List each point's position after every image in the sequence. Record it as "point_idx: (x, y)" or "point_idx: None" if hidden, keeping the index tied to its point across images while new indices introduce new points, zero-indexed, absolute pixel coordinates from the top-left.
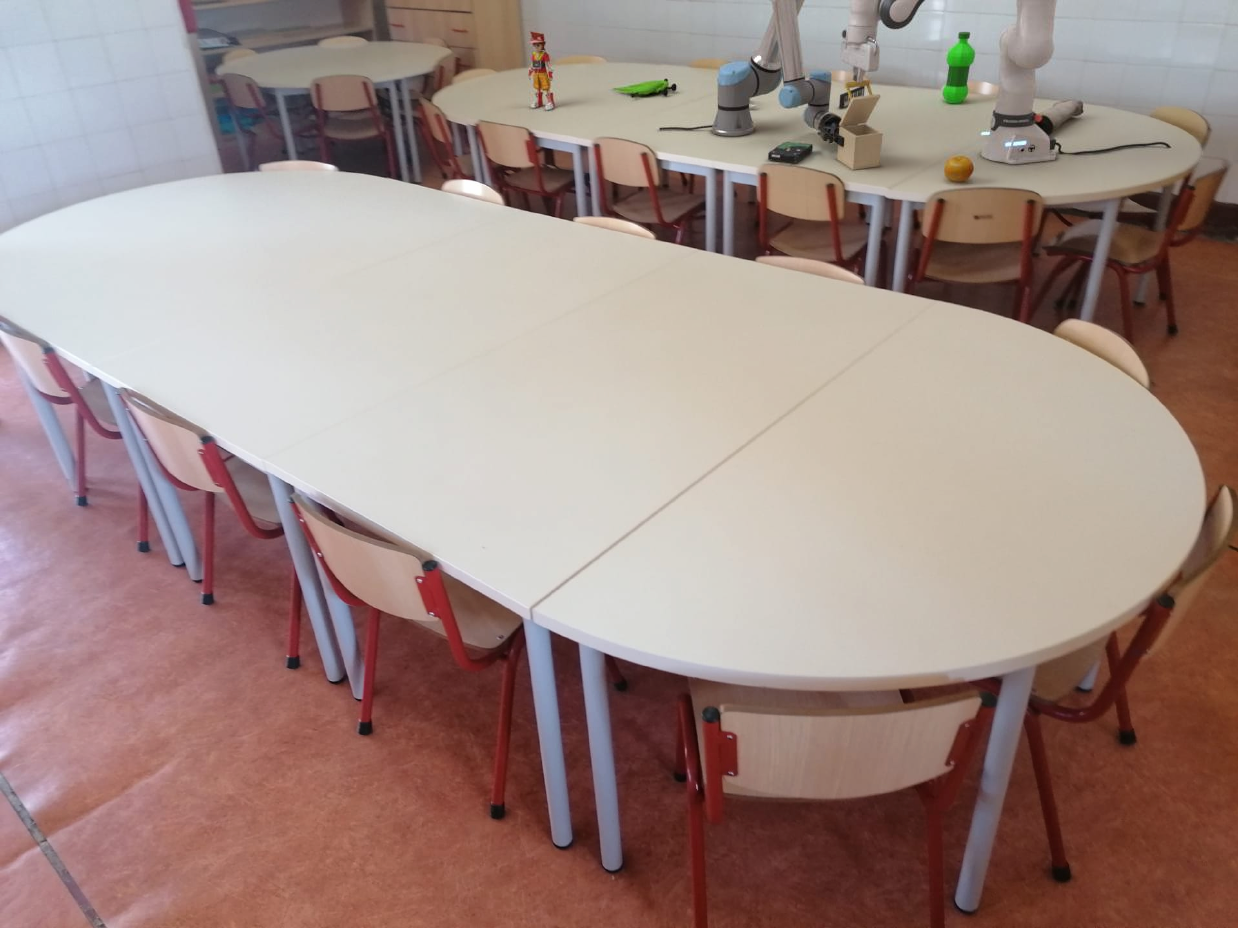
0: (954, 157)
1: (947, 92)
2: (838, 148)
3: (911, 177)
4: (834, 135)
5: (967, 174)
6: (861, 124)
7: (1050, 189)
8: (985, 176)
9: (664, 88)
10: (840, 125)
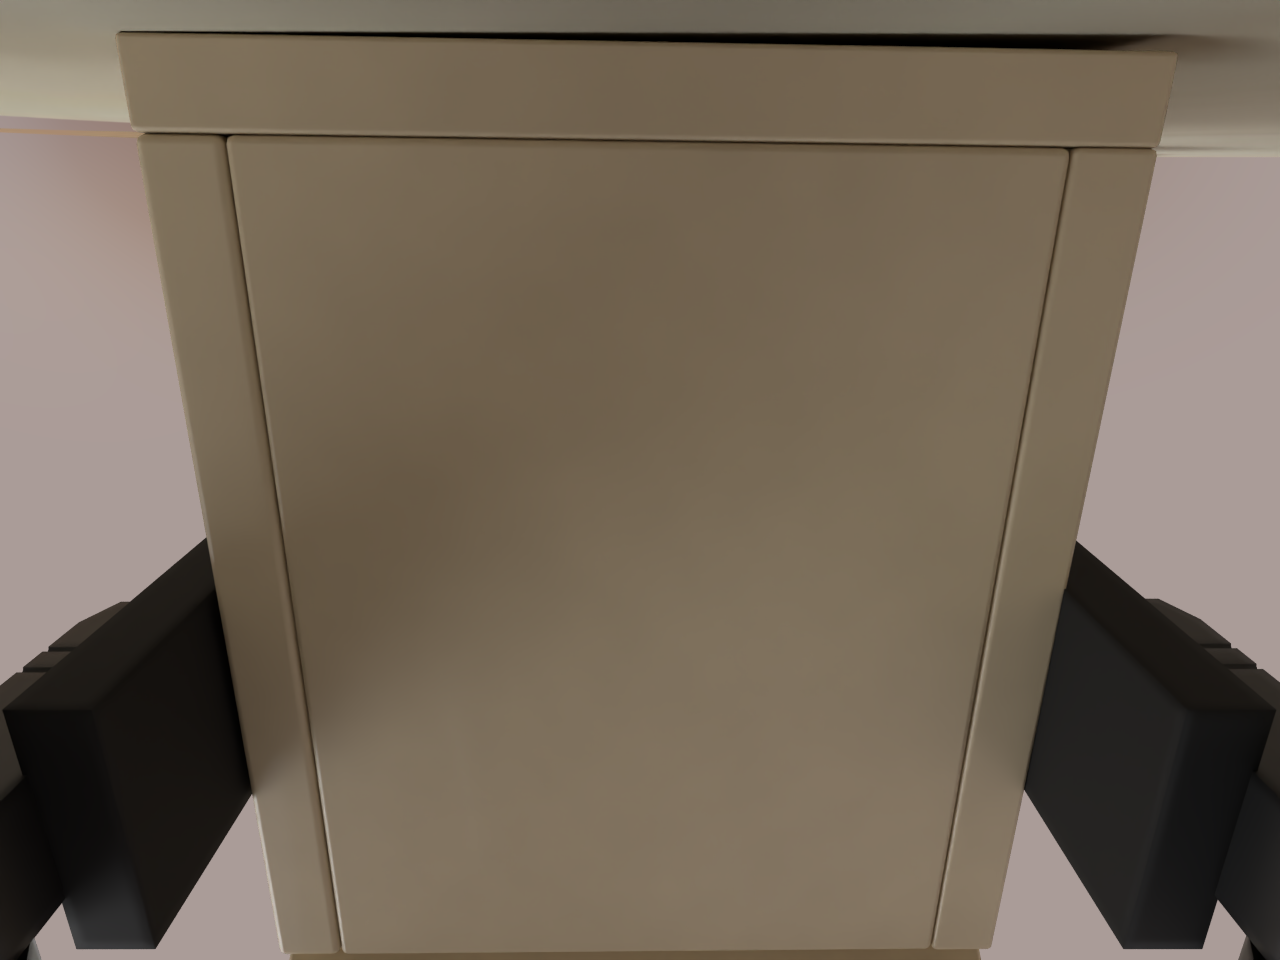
0: None
1: None
2: (210, 435)
3: None
4: (89, 873)
5: None
6: (867, 935)
7: (1234, 155)
8: (1266, 147)
9: None
10: (307, 955)
